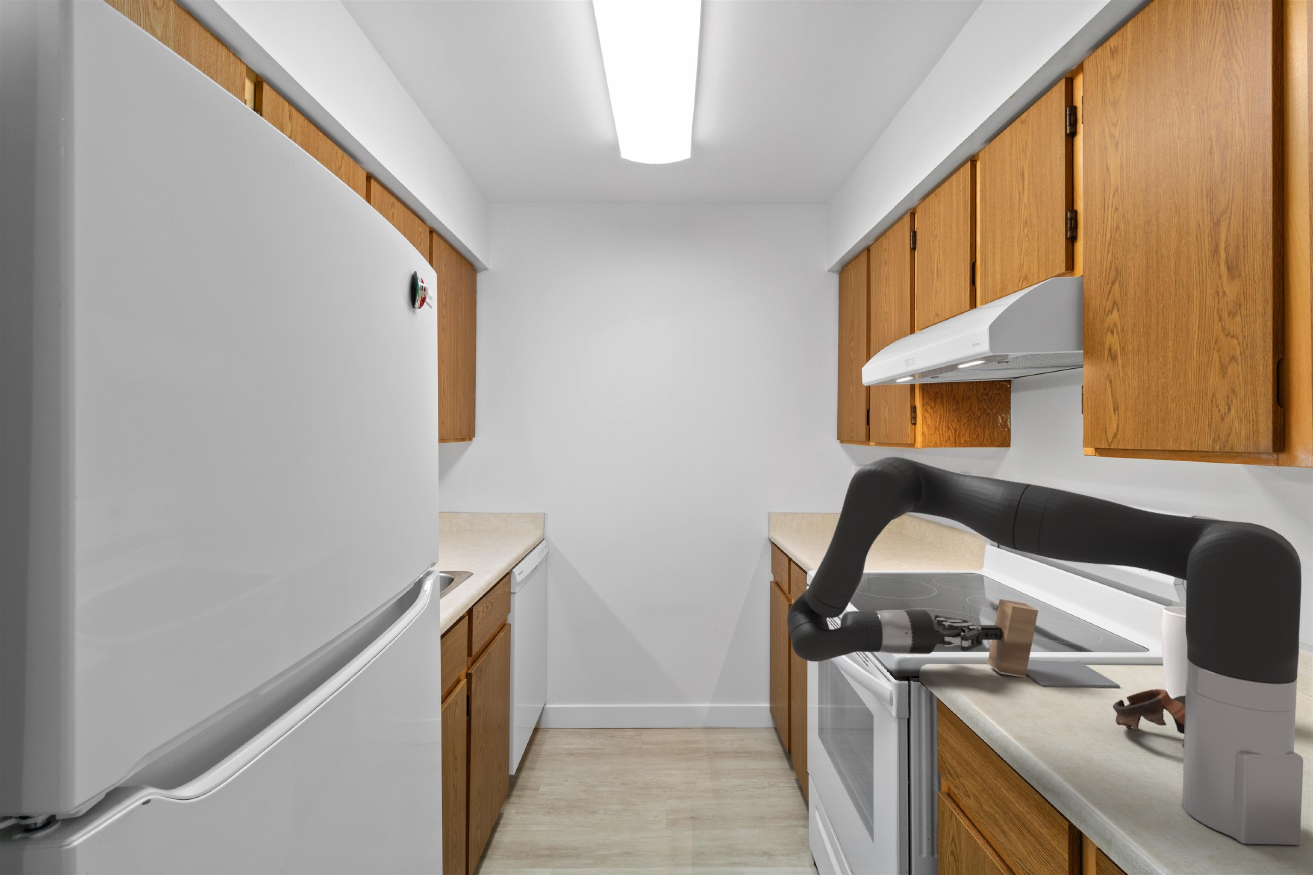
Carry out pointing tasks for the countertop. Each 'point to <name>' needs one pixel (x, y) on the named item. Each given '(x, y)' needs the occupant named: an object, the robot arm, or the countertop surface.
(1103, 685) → the mat
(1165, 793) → the countertop surface
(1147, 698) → the brown jagged ring
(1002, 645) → the plain brown block
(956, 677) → the countertop surface
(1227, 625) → the robot arm
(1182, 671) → the drinking glass
